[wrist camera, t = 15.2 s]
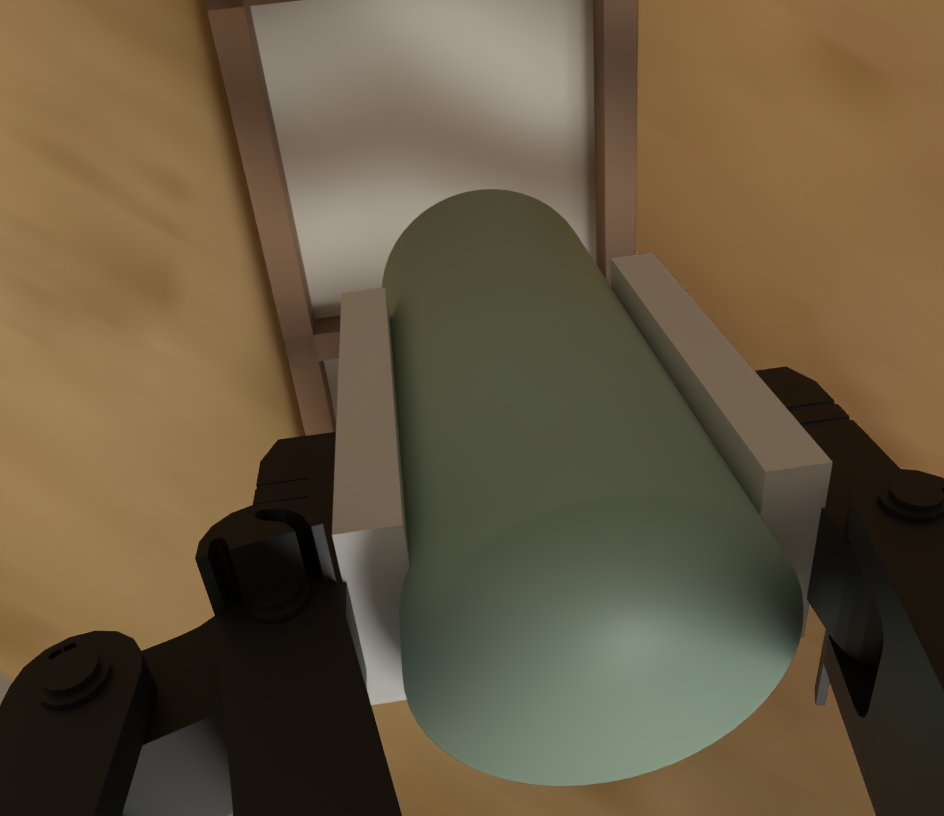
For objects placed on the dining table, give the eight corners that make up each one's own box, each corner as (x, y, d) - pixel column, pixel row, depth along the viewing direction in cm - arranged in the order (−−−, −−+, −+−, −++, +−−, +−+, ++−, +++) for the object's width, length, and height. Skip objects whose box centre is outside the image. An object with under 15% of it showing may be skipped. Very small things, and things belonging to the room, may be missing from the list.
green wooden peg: (591, 369, 19) (782, 753, 10) (397, 396, 19) (428, 811, 10) (587, 175, 17) (828, 464, 8) (365, 204, 16) (371, 532, 8)
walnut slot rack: (619, 530, 36) (631, 558, 35) (344, 571, 36) (344, 601, 34) (621, -80, 24) (639, -79, 23) (208, -35, 24) (197, -31, 22)
